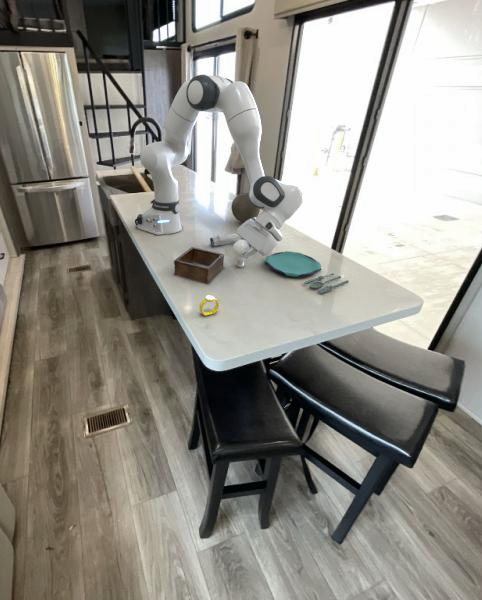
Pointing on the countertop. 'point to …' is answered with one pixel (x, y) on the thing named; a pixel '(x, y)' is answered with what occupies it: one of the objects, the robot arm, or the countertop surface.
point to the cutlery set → (299, 268)
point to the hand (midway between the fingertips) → (239, 252)
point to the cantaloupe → (244, 208)
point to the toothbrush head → (224, 239)
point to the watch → (209, 299)
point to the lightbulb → (241, 251)
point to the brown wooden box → (196, 271)
